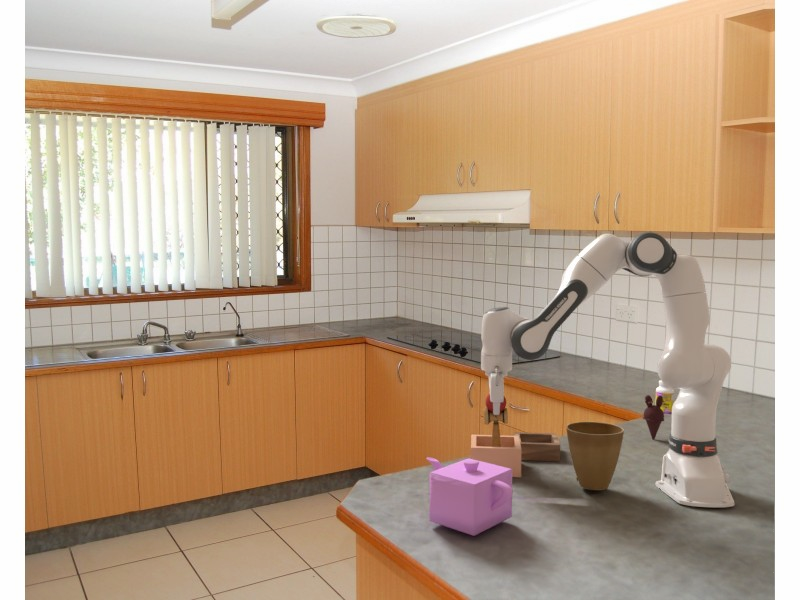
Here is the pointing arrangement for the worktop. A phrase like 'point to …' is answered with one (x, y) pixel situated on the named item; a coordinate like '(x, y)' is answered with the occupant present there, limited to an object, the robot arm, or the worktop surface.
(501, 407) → the kendama
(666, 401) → the supplement bottle
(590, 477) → the plant pot
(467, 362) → the worktop surface
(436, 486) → the teapot
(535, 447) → the block
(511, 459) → the stand
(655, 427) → the icecream
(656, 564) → the worktop surface
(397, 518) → the worktop surface
